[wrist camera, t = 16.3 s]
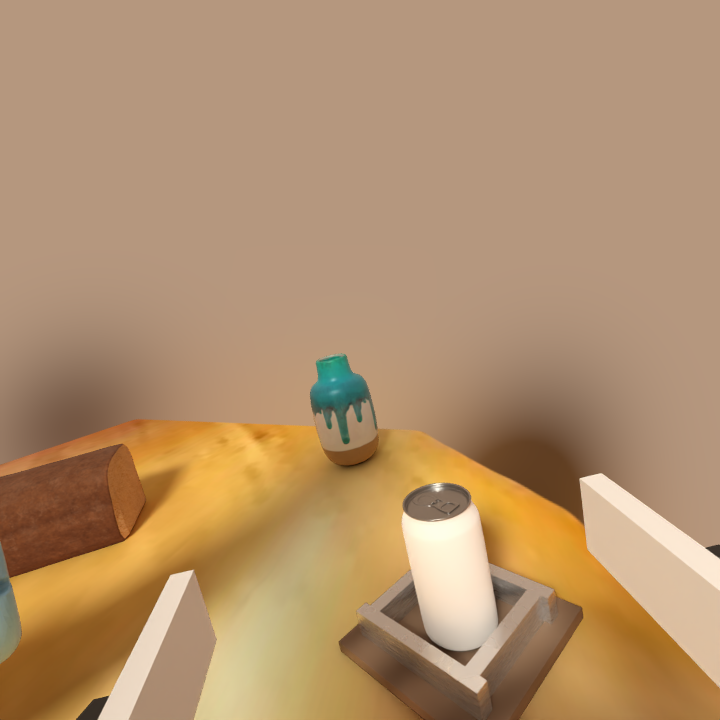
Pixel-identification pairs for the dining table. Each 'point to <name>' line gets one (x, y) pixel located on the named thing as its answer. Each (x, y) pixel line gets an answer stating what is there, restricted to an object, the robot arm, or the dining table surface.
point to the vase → (343, 412)
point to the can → (449, 566)
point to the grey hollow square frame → (489, 662)
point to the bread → (68, 508)
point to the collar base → (433, 705)
